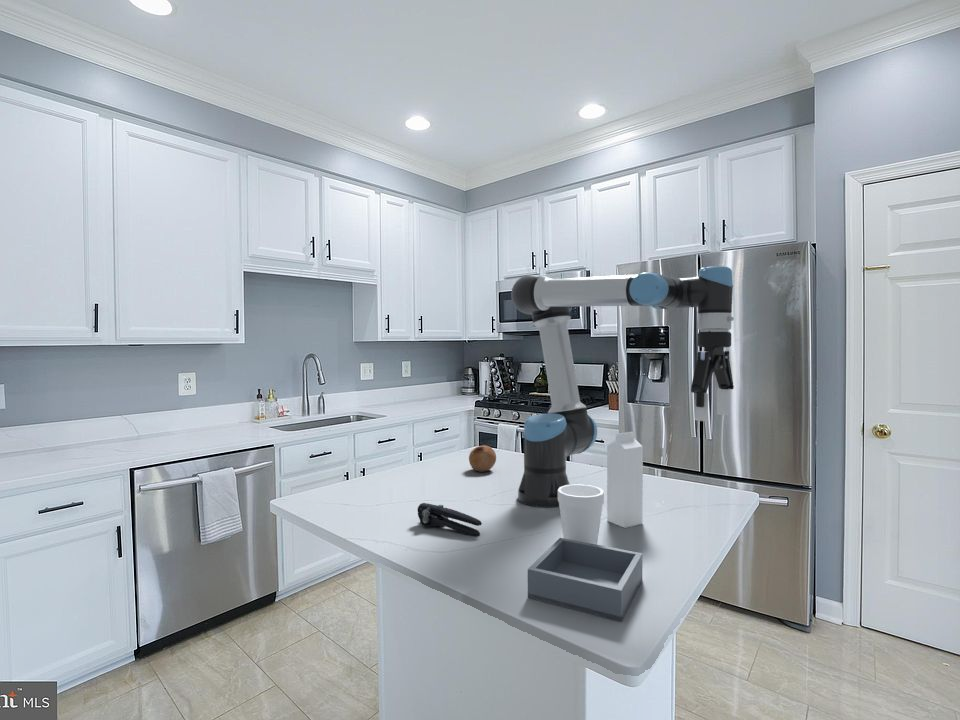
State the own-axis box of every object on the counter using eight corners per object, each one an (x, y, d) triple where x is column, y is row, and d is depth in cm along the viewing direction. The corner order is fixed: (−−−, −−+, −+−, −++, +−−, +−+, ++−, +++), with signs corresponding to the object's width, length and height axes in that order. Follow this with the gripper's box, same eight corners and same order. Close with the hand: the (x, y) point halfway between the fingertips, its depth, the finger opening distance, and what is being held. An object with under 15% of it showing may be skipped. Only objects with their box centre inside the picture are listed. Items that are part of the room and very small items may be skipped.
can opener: (410, 527, 122) (410, 504, 122) (428, 518, 128) (428, 496, 128) (471, 542, 113) (471, 517, 112) (488, 532, 119) (488, 508, 118)
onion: (480, 482, 171) (473, 458, 167) (467, 469, 179) (461, 446, 175) (503, 469, 175) (498, 446, 170) (490, 457, 183) (484, 434, 178)
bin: (527, 597, 87) (527, 569, 87) (560, 562, 101) (559, 537, 101) (621, 621, 80) (621, 590, 80) (642, 580, 94) (642, 553, 93)
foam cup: (553, 543, 111) (553, 484, 110) (595, 542, 112) (595, 483, 111) (564, 562, 101) (564, 498, 101) (609, 560, 102) (609, 496, 102)
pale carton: (642, 524, 123) (643, 433, 122) (624, 528, 120) (625, 435, 119) (624, 516, 128) (625, 429, 127) (606, 520, 125) (607, 431, 124)
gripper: (710, 330, 112) (708, 425, 113) (748, 331, 130) (746, 414, 131) (676, 330, 118) (675, 421, 118) (717, 331, 135) (716, 411, 136)
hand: (712, 417), depth 125 cm, fingers open, 13 cm apart
